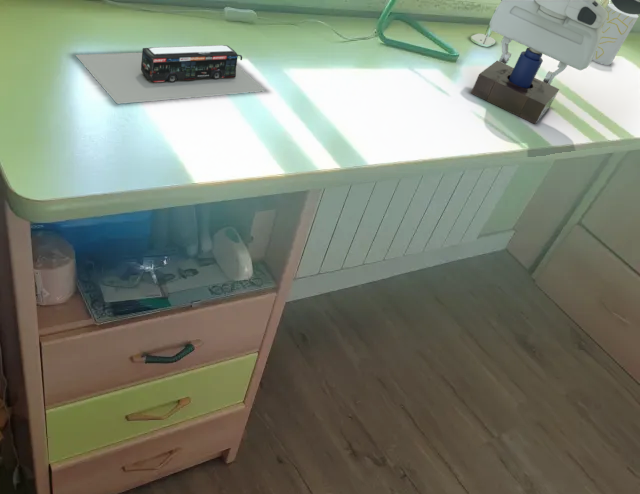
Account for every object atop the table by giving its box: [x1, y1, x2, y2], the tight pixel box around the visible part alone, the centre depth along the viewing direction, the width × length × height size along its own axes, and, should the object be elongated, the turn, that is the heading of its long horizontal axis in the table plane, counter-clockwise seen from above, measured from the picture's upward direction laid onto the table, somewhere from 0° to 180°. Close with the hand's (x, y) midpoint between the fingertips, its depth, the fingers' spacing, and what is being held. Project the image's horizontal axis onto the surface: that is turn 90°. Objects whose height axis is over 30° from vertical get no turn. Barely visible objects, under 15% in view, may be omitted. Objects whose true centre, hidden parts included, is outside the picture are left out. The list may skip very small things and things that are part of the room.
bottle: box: [508, 47, 544, 88], centre depth 118 cm, size 4×4×12 cm
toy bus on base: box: [75, 44, 267, 105], centre depth 93 cm, size 14×25×4 cm, turn 127°
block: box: [470, 60, 560, 125], centre depth 121 cm, size 14×12×4 cm
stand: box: [470, 7, 497, 48], centre depth 143 cm, size 8×5×8 cm
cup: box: [592, 3, 640, 66], centre depth 156 cm, size 8×8×12 cm
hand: (524, 72), depth 118 cm, fingers open, 8 cm apart
